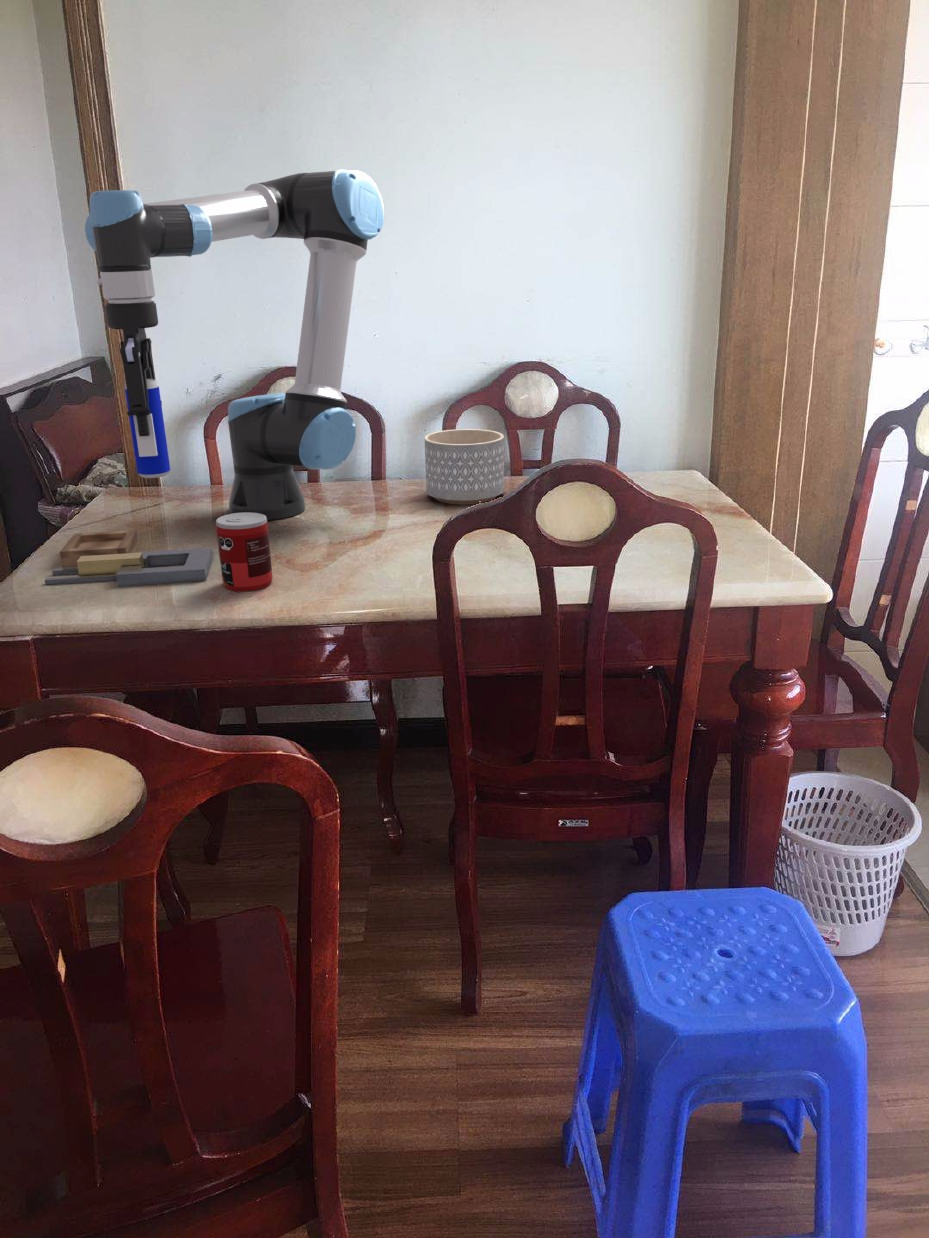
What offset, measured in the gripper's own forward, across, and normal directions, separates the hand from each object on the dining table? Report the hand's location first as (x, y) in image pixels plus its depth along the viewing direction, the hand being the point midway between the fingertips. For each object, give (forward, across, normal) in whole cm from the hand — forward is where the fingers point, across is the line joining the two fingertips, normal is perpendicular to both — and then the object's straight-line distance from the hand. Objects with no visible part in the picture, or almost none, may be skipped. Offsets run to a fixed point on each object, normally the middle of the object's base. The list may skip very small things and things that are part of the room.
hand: (151, 451), depth 160 cm
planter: (+21, -39, +56) cm, 71 cm away
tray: (+20, -12, -13) cm, 27 cm away
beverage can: (+4, 0, 0) cm, 4 cm away
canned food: (+21, +9, +14) cm, 26 cm away
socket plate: (+20, 0, -6) cm, 21 cm away
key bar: (+20, 0, -9) cm, 22 cm away
